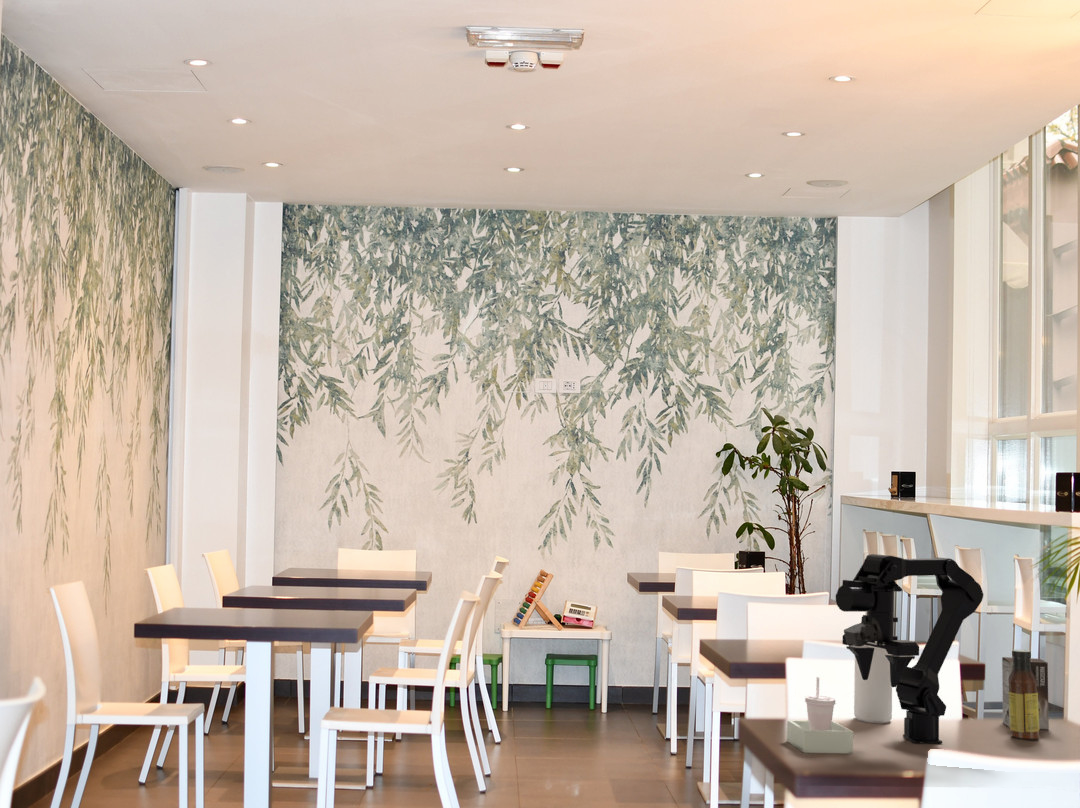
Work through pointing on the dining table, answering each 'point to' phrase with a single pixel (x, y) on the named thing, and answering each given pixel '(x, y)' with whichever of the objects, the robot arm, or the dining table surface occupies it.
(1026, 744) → the dining table surface
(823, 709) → the smoothie
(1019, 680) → the sauce bottle
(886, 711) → the alcohol
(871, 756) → the dining table surface
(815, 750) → the bin
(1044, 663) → the coffee box
